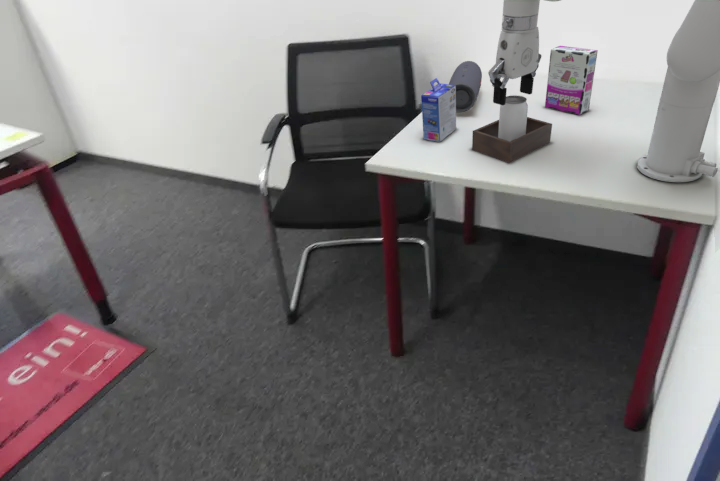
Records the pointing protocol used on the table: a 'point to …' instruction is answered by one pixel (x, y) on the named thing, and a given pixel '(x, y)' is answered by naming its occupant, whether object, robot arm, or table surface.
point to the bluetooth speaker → (466, 85)
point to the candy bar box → (570, 79)
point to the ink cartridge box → (439, 111)
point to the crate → (512, 150)
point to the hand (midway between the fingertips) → (512, 98)
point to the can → (513, 118)
